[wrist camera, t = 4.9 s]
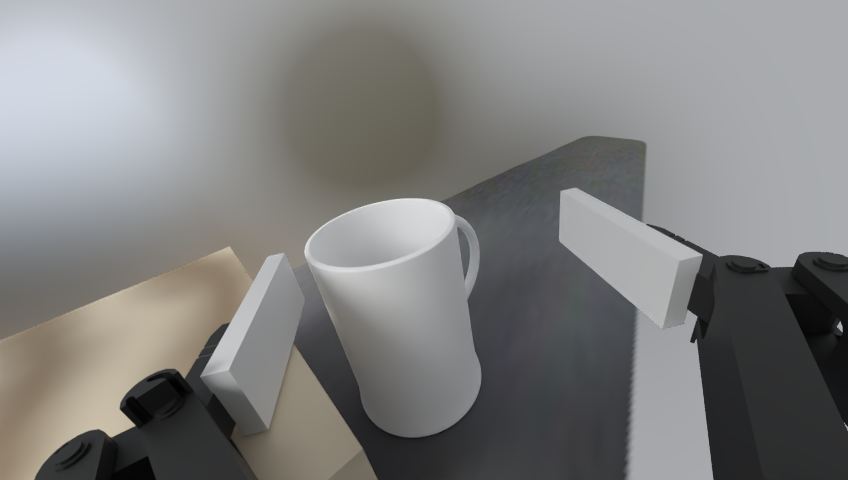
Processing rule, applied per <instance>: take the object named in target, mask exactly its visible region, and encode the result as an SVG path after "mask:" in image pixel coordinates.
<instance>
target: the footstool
mask: <svg viewBox="0 0 848 480" xmlns="http://www.w3.org/2000/svg"><path fill="white" fill-rule="evenodd" d="M252 284H253V281H252V280H251V278H250V277H249V275H248V274H247V272H246V271H245V269H244V268H243V266H242V265H241V263H240V261H239V260H238V258H237V257H236V255H235V254H234V252H233V251H232V249H231V248H230V247H227V248H225V249H222V250H220V251H217V252H215V253H212V254H210V255H208V256H205V257H203V258H200V259H198V260H195V261H193V262H191V263H188V264H186V265H183V266H181V267H178V268H176V269H173V270H171V271H168V272H166V273H164V274H161V275H159V276H156V277H154V278H151V279H149V280H146V281H144V282H142V283H139V284H137V285H135V286H132V287H130V288H127V289H124V290H122V291H120V292H117V293H115V294H112V295H110V296H107V297H105V298H102V299H100V300H97V301H95V302H93V303H90V304H88V305H85V306H83V307H80V308H78V309H76V310H73V311H71V312H68V313H66V314H64V315H61V316H58V317H56V318H53V319H51V320H49V321H46V322H44V323H41V324H39V325H36V326H34V327H31V328H29V329H27V330H24V331H22V332H19V333H17V334H14V335H12V336H9V337H7V338H5V339H2V340H0V480H34V479H35V476H36V474H37V473H38V471H39V469H40V468H41V466H42V464H43V463H44V462H45V461H46V460H47V459H48V458H49V457H50V456H51V455H52V454H53V453H54V452H55V451H56V450H57V449H58V448H60V447H61V446H62V445H63V444H65V443H66V442H68V441H70V440H71V439H73V438H75V437H76V436H78V435H80V434H82V433H85V432H87V431H89V430H96V429H100V430H102V431H104V432H105V433H106V434H107V435H108V436H110V437H113V436H115V435H118V434H120V433H122V432H124V431H126V430H128V429H130V428H132V427H134V426H136V425H135V424H134V423H133V422H132V421H131V420H130V419H129V418H128V417H127V416H126V415H125V414H124V413H123V412H122V411H121V410H120V402H121V401H122V399H123V398H124V396H125V394H126V393H127V392H128V391H129V390H130V389H131V388H132V387H133V386H134V385H136V384H137V383H139V382H140V381H141V380H143V379H144V378H146V377H147V376H149V375H151V374H153V373H155V372H158V371H161V370H164V369H176V370H177V371H179V372H180V374H181V375H182V376H183V378H184V379H185V377H186V375H187V374H188V372H189V370H190V369H191V367H192V365H193V364H194V362H195V361H196V359H198V356H199V354H200V352H201V351H202V349H204V346H205V344H206V343H207V341H208V339H209V338H210V336H211V335H212V334H213V333H214V332H215V331H216V330H217V329H218V328H219V327H220V326H221V325H222V324H226V323H230V322H231V321H232V319H233V317H234V316H235V314H236V312H237V310H238V308H239V307H240V305H241V303H242V301H243V300H244V298H245V296H246V294H247V292H248V291H249V289H250V287H251V285H252ZM231 439H232V440H233V442H234V443H235V444H236V446H237V447H238V449H239V450H240V452H241V454H242V455H243V457H244V458H245V460H246V461H247V463H248V464H249V466H250V468H251V469H252V471H253V472H254V474H255V475H256V477H257V479H258V480H378V479H377V477H376V475H375V473H374V471H373V469H372V467H371V465H370V462H369V460H368V458H367V456H366V454H365V452H364V450H363V448H362V446H361V445H360V443H359V442H358V440H357V439H356V437H355V436H354V434H353V433H352V431H351V430H350V428H349V427H348V425H347V424H346V422H345V421H344V419H343V418H342V416H341V415H340V413H339V412H338V410H337V409H336V407H335V406H334V404H333V402H332V401H331V399H330V398H329V396H328V395H327V393H326V392H325V390H324V389H323V387H322V386H321V384H320V383H319V381H318V380H317V378H316V377H315V375H314V374H313V372H312V371H311V369H310V368H309V366H308V365H307V363H306V362H305V360H304V358H303V357H302V355H301V354H300V352H299V351H298V349H297V348H296V346H295V345H294V343H293V345H292V349H291V352H290V356H289V359H288V363H287V366H286V370H285V373H284V377H283V381H282V384H281V388H280V391H279V395H278V398H277V402H276V405H275V409H274V412H273V416H272V419H271V423H270V426H269V430H266V431H262V432H258V433H254V434H250V435H246V436H244V435H243V434H242V433H241V431H240V430H239V429H238V427H237V426H236V425H235V428H234V430H233V433H232V436H231Z"/></svg>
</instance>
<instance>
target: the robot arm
mask: <svg viewBox="0 0 848 480" xmlns="http://www.w3.org/2000/svg"><path fill="white" fill-rule="evenodd" d="M559 241H560V242H561V243H562V244H563V245H564V246H566V247H567V248H568V249H569V250H570V251H571V252H573V253H574V254H575V255H576V256H577V257H578V258H580V259H581V260H582V261H583V262H584V263H586V264H587V265H588V266H589V267H590V268H591V269H593V270H594V271H595V272H596V273H597V274H598V275H600V276H601V277H602V278H603V279H604V280H605V281H607V282H608V283H609V284H610V285H611V286H612V287H614V288H615V289H616V290H617V291H618V292H620V293H621V294H622V295H623V296H624V297H625V298H627V299H628V300H629V301H630V302H631V303H632V304H634V305H635V306H636V307H637V308H638V309H639V310H641V311H642V312H643V313H644V314H645V315H646V316H648V317H649V318H650V319H651V320H652V321H654V322H655V323H656V324H657V325H658V326H659V327H661V328H662V329H665V328H669V327H673V326H677V325H681V324H684V320H685V317H686V313H687V310H689V311H691V312H692V313H693V314H695V315H696V316H698V318H697V321H696V324H695V328H694V331H693V334H692V337H691V341H690V342H692V343H694V342H695V340H696V339H697V345H698V353H699V362H700V370H701V378H702V387H703V395H704V404H705V412H706V420H707V429H708V437H709V446H710V454H711V462H712V471H713V479H714V480H848V431H847V428H846V426H845V424H846V425H847V426H848V257H845V256H843V255H840V254H834V253H829V252H825V253H824V252H806V253H803V254H800V255H799V256H798V258H797V261H796V263H795V265H794V267H776V268H771V267H770V266H769V265H767V264H765V263H763V262H761V261H759V260H756V259H753V258H750V257H744V256H735V255H727V256H721V257H719V256H717V255H715V254H712V253H711V252H709V251H707V250H705V249H703V248H701V247H699V246H697V245H695V244H693V243H691V242H689V241H685V239H683V238H681V237H679V236H675V234H673V233H671V232H669V231H667V230H666V229H663V228H660V227H657V226H653V225H649V224H646V225H645V224H644V223H642V222H640V221H638V220H636V219H634V218H632V217H630V216H628V215H626V214H625V213H623V212H621V211H619V210H617V209H615V208H613V207H611V206H609V205H608V204H606V203H604V202H602V201H600V200H598V199H596V198H594V197H592V196H590V195H589V194H587V193H585V192H583V191H581V190H579V189H577V188H572V189H568V190H563V191H561V195H560V225H559ZM304 303H305V298H304V296H303V294H302V291H301V289H300V287H299V284H298V282H297V280H296V278H295V275H294V273H293V271H292V269H291V266H290V264H289V262H288V259H287V257H286V255H285V253H281V254H277V255H272V256H268V257H267V259H266V260H265V262H264V264H263V266H262V268H261V270H260V271H259V273H258V275H257V276H256V278H255V280H254V282H253V284H252V285H251V287H250V289H249V291H248V292H247V294H246V296H245V298H244V300H243V301H242V303H241V305H240V307H239V308H238V310H237V312H236V314H235V316H234V317H233V319H232V321H231V322H230V323H226V324H222V325H221V326H220V327H219V328H218V329H217V330H216V331H215V332H214V333H213V334H212V335H211V336H210V338H209V339H208V341H207V343H206V344H205V346H204V349H202V351H201V352H200V354H199V356H198V359H196V361H195V362H194V364H193V365H192V367H191V369H190V370H189V372H188V374H187V375H186V377H185V379H184V378H183V376H182V375H181V374H180V372H179V371H177V370H176V369H164V370H161V371H158V372H155V373H153V374H151V375H149V376H147V377H146V378H144V379H143V380H141V381H140V382H139V383H137V384H136V385H134V386H133V387H132V388H131V389H130V390H129V391H128V392H127V393H126V394H125V396H124V398H123V399H122V401H121V402H120V410H121V411H122V412H123V413H124V414H125V415H126V416H127V417H128V418H129V419H130V420H131V421H132V422H133V423H134V424H135V425H136V426H134V427H132V428H130V429H128V430H126V431H124V432H122V433H120V434H118V435H115V436H113V437H110V436H108V435H107V434H106V433H105V432H104V431H102V430H100V429H96V430H89V431H87V432H85V433H82V434H80V435H78V436H76V437H75V438H73V439H71V440H70V441H68V442H66V443H65V444H63V445H62V446H61V447H60V448H58V449H57V450H56V451H55V452H54V453H53V454H52V455H51V456H50V457H49V458H48V459H47V460H46V461H45V462H44V463H43V464H42V466H41V468H40V469H39V471H38V473H37V474H36V476H35V479H34V480H258V479H257V477H256V475H255V474H254V472H253V471H252V469H251V468H250V466H249V464H248V463H247V461H246V460H245V458H244V457H243V455H242V454H241V452H240V450H239V449H238V447H237V446H236V444H235V443H234V442H233V440H232V439H231V436H232V433H233V430H234V428H235V425H236V426H237V427H238V429H239V430H240V431H241V433H242V434H243V435H244V436H246V435H250V434H254V433H258V432H262V431H266V430H269V426H270V423H271V419H272V416H273V412H274V409H275V405H276V402H277V398H278V395H279V391H280V388H281V384H282V381H283V377H284V373H285V370H286V366H287V363H288V359H289V356H290V352H291V349H292V345H293V342H294V338H295V335H296V331H297V328H298V324H299V320H300V317H301V313H302V310H303V306H304ZM840 321H841V324H842V326H843V333H842V332H841V331H840V330H839V329H838V328H837V325H838V324H839V322H840ZM843 421H844V422H843ZM844 423H845V424H844Z"/></svg>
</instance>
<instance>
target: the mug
mask: <svg viewBox="0 0 848 480" xmlns="http://www.w3.org/2000/svg"><path fill="white" fill-rule="evenodd" d="M457 227H458V228H460V229H461V230H462V231H463V232H464V233H465V235H466V236H467V239H468V242H469V247H470V262H469V268H468V272H467V275H466V278H465V281H464V274H463V268H462V261H461V254H460V247H459V240H458V233H457ZM305 257H306V260H307V262H308V265H309V267H310V270H311V272H312V275H313V277H314V279H315V282H316V284H317V287H318V289H319V291H320V294H321V296H322V299H323V301H324V303H325V306H326V308H327V311H328V313H329V315H330V318H331V320H332V323H333V325H334V327H335V330H336V332H337V335H338V337H339V339H340V342H341V344H342V347H343V349H344V351H345V354H346V356H347V359H348V361H349V364H350V366H351V368H352V371H353V373H354V376H355V378H356V381H357V383H358V386H359V388H360V397H361V402H362V405H363V408H364V410H365V412H366V414H367V415H368V417H369V418H370V419H371V421H372V422H373V423H374V424H376V425H377V426H378V427H379V428H381V429H382V430H384V431H386V432H388V433H390V434H393V435H397V436H401V437H410V438H415V437H425V436H429V435H433V434H436V433H439V432H441V431H443V430H445V429H447V428H449V427H451V426H452V425H454V424H455V423H456V422H458V421H459V420H460V419H461V418H462V417H463V416H464V415H465V414H466V413H467V412H468V411H469V409H470V408H471V407H472V405H473V403H474V402H475V400H476V398H477V395H478V393H479V389H480V385H481V367H480V363H479V360H478V357H477V355H476V353H475V349H474V343H473V337H472V330H471V323H470V316H469V309H468V302H467V299H468V297H469V296H470V294H471V291H472V289H473V287H474V284H475V281H476V278H477V274H478V269H479V261H480V251H479V243H478V239H477V236H476V234H475V232H474V230H473V228H472V227H471V225H470V224H469V223H468V222H467V221H466V220H465V219H463V218H462V217H460V216H458V215H455V214H454V213H453V211H452V210H451V209H450V208H449V207H448V206H446V205H445V204H443V203H440V202H437V201H434V200H429V199H420V198H406V199H395V200H388V201H382V202H378V203H374V204H370V205H366V206H363V207H360V208H357V209H354V210H352V211H349V212H347V213H345V214H342V215H340V216H338V217H336V218H335V219H333V220H331V221H329V222H328V223H326V224H325V225H323V226H322V227H321V228H319V229H318V230H317V231H316V232H315V233H314V234H313V235H312V236H311V237H310V238H309V240H308V242H307V244H306V246H305Z"/></svg>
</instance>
